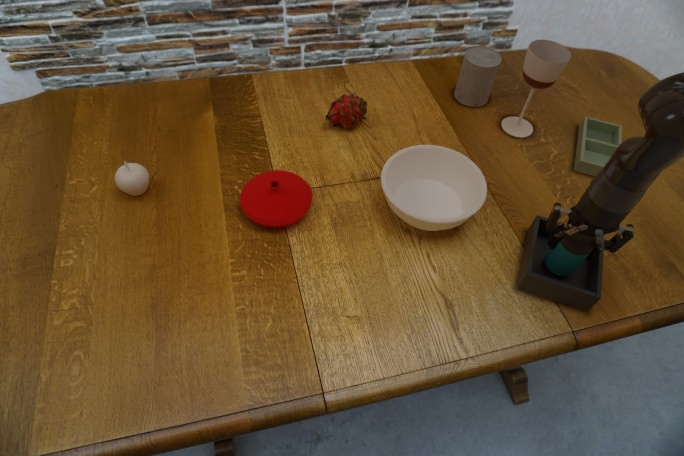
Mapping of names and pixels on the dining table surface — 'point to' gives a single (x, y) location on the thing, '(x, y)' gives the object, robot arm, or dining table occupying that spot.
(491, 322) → the dining table surface
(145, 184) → the plain white apple
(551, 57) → the wineglass
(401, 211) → the bowl
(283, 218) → the red disc with nozzle
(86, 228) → the dining table surface
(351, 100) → the dragon fruit
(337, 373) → the dining table surface
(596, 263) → the dark grey open box
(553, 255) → the travel mug
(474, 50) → the gray cylinder
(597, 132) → the green divided tray
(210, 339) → the dining table surface
